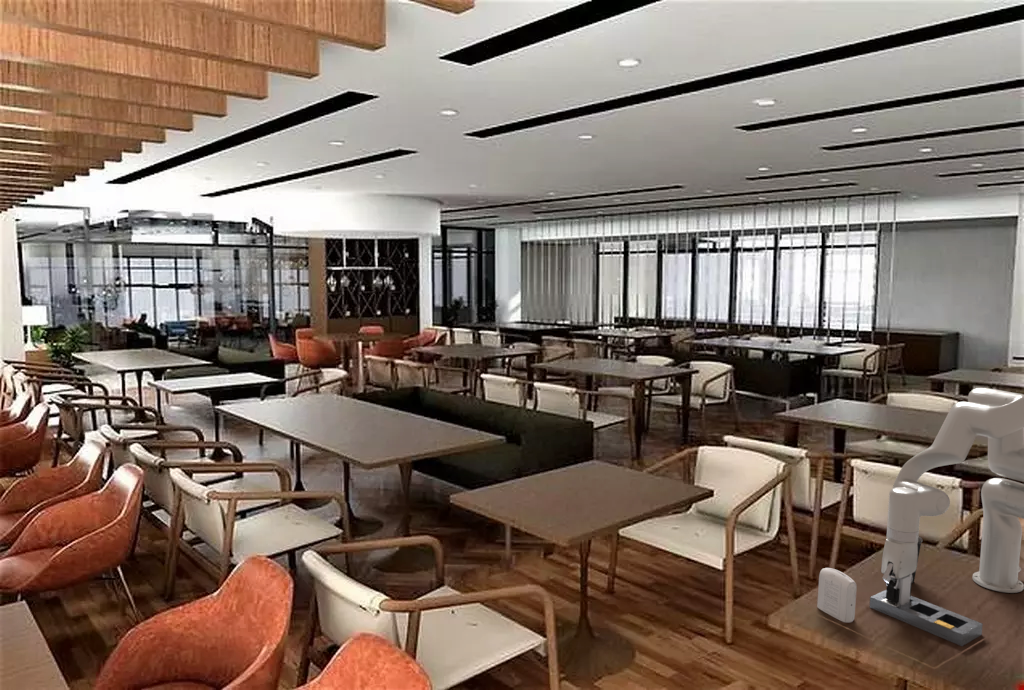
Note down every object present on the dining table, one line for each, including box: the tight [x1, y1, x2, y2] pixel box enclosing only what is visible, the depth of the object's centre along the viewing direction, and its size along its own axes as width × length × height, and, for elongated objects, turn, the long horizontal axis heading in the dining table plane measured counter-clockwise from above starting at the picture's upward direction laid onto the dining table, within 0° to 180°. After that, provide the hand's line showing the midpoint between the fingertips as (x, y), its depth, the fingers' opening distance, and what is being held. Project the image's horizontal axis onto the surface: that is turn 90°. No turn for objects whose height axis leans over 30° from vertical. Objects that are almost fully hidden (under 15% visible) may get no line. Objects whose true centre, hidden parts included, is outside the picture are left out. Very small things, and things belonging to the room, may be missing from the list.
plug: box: [891, 573, 912, 606], centre depth 198 cm, size 4×4×11 cm
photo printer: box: [816, 567, 858, 623], centre depth 196 cm, size 10×4×12 cm, turn 25°
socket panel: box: [869, 589, 983, 647], centre depth 193 cm, size 10×24×4 cm, turn 33°
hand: (898, 597), depth 199 cm, fingers open, 5 cm apart
